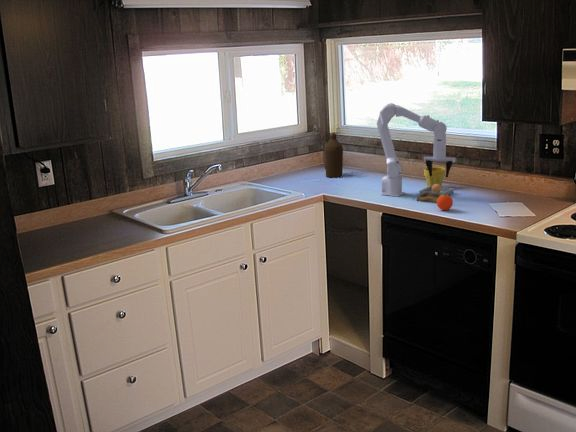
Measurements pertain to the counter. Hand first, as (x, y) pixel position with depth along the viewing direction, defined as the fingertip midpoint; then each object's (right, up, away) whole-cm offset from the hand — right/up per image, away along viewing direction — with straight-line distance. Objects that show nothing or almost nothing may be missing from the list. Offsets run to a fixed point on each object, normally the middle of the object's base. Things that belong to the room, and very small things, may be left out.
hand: (438, 176), depth 301 cm
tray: (-5, -11, -5) cm, 14 cm away
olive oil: (-46, +4, +57) cm, 74 cm away
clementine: (-3, -16, -23) cm, 28 cm away
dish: (0, -8, +5) cm, 10 cm away
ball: (0, -6, +4) cm, 7 cm away
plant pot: (+2, -5, +19) cm, 20 cm away
